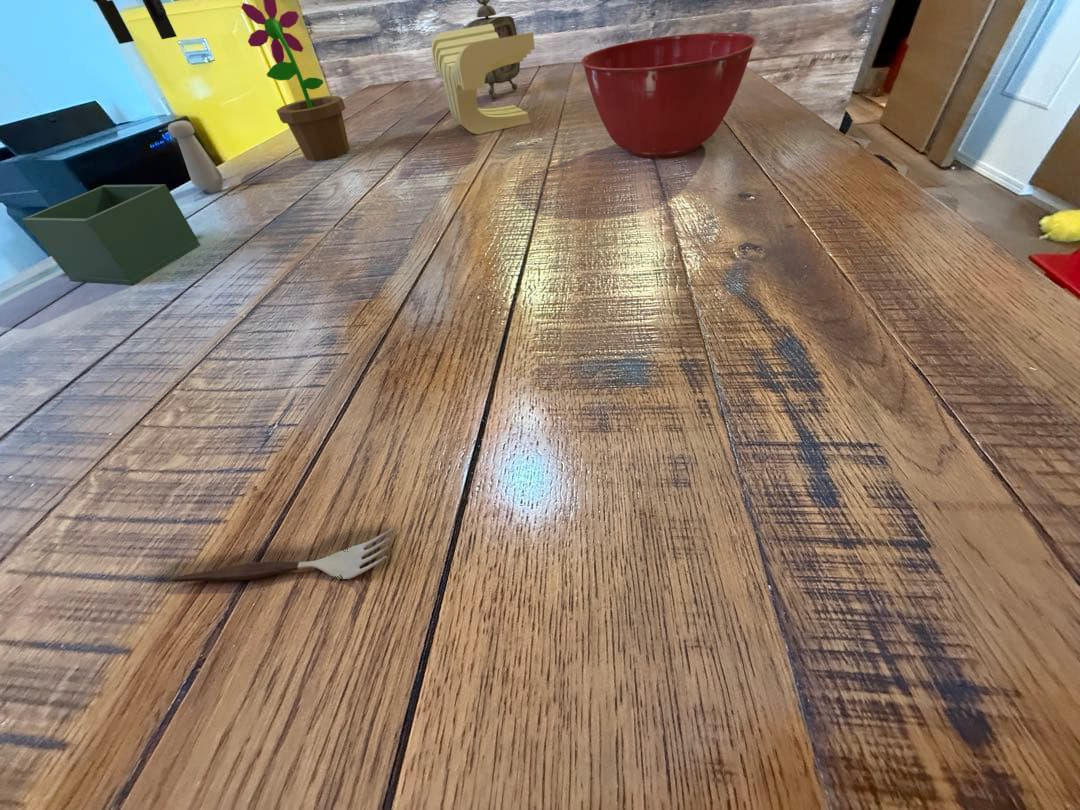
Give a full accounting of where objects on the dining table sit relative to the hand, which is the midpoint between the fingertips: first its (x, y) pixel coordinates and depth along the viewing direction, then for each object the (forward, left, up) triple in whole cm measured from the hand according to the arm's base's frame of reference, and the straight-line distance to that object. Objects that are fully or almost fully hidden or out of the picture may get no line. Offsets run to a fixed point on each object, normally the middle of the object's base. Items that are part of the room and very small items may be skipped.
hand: (147, 40), depth 99 cm
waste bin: (+22, -40, -25) cm, 52 cm away
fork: (+84, -81, -26) cm, 119 cm away
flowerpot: (+21, +14, -26) cm, 36 cm away
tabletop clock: (+45, +64, -26) cm, 82 cm away
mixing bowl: (+98, +12, -26) cm, 102 cm away
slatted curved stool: (+55, +33, -26) cm, 69 cm away
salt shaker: (+8, -9, -26) cm, 28 cm away
